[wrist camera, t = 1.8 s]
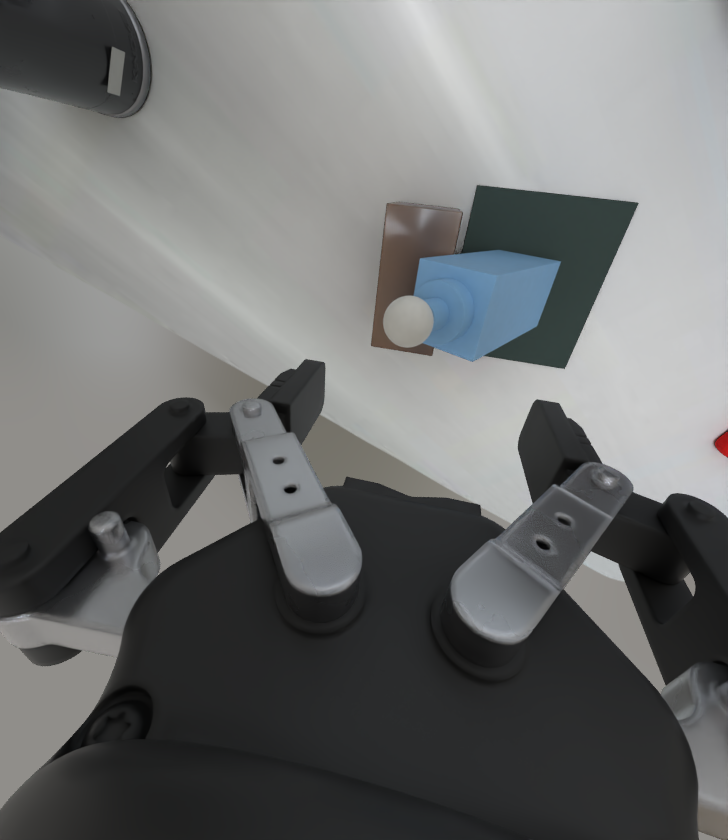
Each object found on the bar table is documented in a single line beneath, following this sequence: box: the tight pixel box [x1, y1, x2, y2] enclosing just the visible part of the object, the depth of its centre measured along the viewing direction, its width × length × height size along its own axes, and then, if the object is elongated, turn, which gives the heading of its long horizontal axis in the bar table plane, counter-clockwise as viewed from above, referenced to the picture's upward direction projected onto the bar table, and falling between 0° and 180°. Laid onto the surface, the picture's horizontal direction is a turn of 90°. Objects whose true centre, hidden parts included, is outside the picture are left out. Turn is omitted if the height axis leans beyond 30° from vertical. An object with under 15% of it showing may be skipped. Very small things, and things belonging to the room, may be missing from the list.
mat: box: [462, 185, 638, 369], centre depth 36 cm, size 14×16×1 cm
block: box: [371, 202, 463, 356], centre depth 34 cm, size 6×12×8 cm, turn 175°
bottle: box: [383, 250, 561, 362], centre depth 29 cm, size 14×6×19 cm, turn 84°
